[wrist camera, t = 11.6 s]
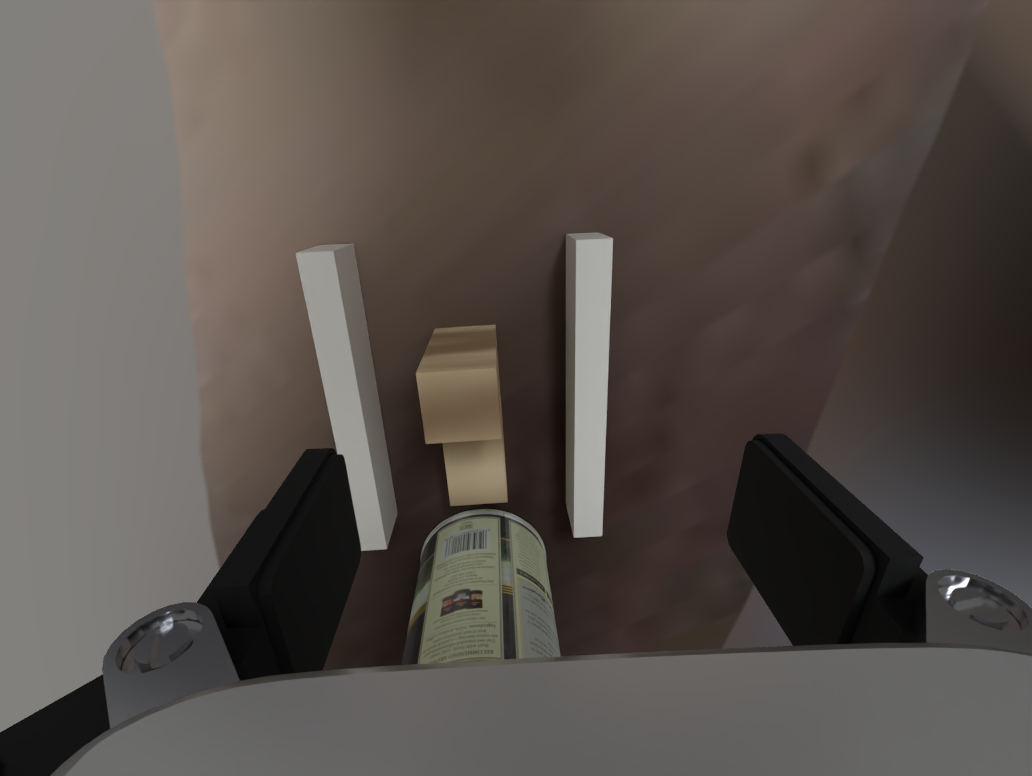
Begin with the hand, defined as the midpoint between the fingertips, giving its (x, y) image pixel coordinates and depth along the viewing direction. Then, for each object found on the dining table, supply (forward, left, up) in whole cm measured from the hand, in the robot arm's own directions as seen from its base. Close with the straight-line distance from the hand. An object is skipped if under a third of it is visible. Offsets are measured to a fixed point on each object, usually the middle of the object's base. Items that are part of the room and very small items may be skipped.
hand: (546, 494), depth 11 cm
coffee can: (+21, -3, -22) cm, 30 cm away
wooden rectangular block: (+8, -3, -21) cm, 23 cm away
